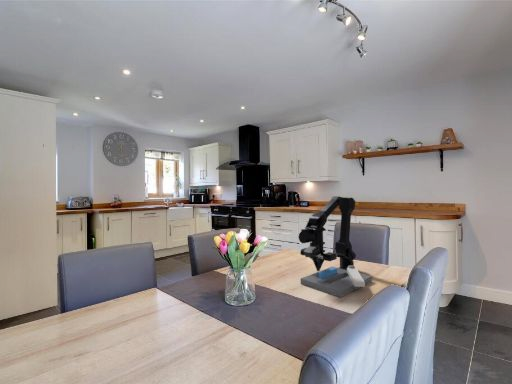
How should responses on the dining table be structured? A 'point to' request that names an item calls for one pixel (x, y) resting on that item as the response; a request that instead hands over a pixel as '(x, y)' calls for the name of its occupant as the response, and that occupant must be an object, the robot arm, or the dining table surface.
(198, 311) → the dining table surface
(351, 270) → the bar
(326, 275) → the blue bar
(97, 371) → the dining table surface
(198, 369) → the dining table surface
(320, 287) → the board
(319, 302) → the dining table surface
